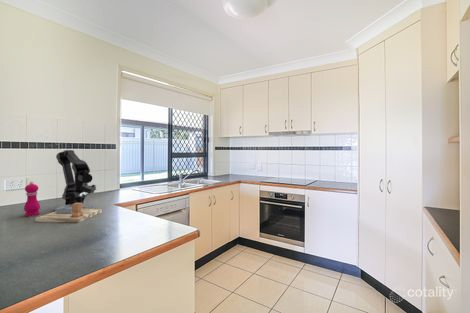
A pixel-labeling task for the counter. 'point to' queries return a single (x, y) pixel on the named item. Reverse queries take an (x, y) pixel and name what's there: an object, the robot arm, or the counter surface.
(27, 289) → the counter surface
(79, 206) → the pin
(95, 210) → the pin board
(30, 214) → the pepper mill
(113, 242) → the counter surface
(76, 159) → the robot arm
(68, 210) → the block
